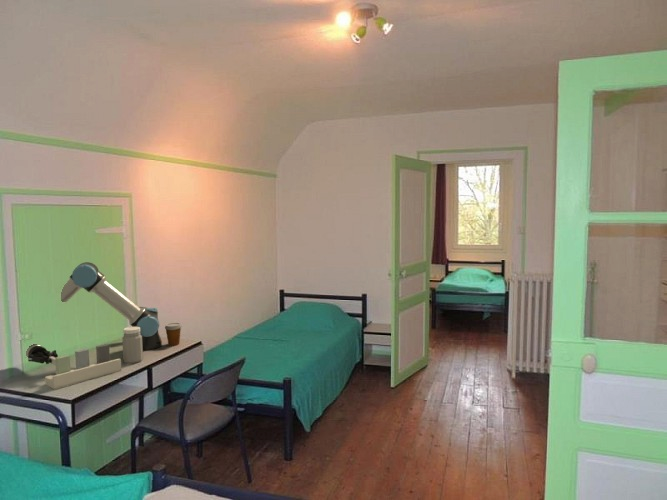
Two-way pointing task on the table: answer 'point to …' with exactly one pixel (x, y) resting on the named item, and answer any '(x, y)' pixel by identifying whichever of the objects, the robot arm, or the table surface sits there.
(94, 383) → the table surface
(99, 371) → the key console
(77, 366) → the key slate
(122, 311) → the robot arm
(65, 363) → the key sage
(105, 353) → the key charcoal
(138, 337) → the jar
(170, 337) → the disposable coffee cup
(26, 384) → the table surface
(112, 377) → the table surface
